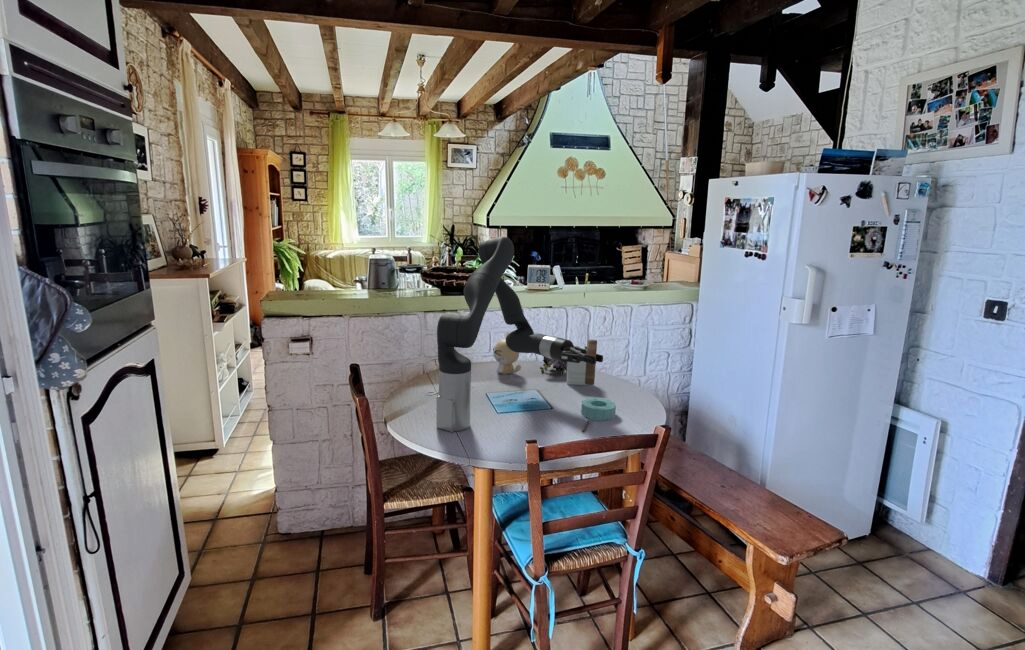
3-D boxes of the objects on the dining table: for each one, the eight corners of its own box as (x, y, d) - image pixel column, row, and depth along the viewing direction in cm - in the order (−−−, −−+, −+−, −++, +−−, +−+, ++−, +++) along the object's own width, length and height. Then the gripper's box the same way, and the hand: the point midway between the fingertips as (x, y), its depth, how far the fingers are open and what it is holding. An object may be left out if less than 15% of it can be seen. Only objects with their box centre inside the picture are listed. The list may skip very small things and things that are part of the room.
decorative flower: (570, 355, 209) (536, 338, 215) (556, 383, 210) (524, 365, 216) (581, 356, 222) (550, 340, 228) (569, 383, 223) (538, 366, 229)
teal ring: (605, 423, 171) (606, 412, 170) (575, 414, 177) (576, 404, 176) (620, 413, 179) (620, 402, 178) (590, 405, 185) (591, 395, 184)
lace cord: (584, 432, 163) (584, 430, 163) (581, 431, 164) (581, 429, 163) (589, 422, 171) (590, 420, 170) (587, 422, 171) (587, 420, 171)
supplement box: (585, 379, 212) (587, 347, 209) (586, 385, 205) (588, 352, 202) (566, 378, 213) (568, 346, 210) (566, 384, 205) (568, 351, 203)
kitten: (489, 367, 224) (490, 330, 220) (514, 366, 225) (515, 330, 222) (495, 378, 209) (496, 340, 206) (521, 378, 211) (523, 339, 208)
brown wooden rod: (591, 385, 175) (594, 342, 172) (583, 383, 177) (585, 340, 174) (595, 383, 178) (598, 340, 175) (587, 381, 179) (590, 339, 176)
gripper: (542, 340, 179) (586, 352, 168) (570, 334, 189) (612, 344, 178) (541, 363, 181) (584, 376, 169) (568, 355, 191) (611, 367, 179)
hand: (598, 359), depth 173 cm, fingers closed on brown wooden rod, 3 cm apart
